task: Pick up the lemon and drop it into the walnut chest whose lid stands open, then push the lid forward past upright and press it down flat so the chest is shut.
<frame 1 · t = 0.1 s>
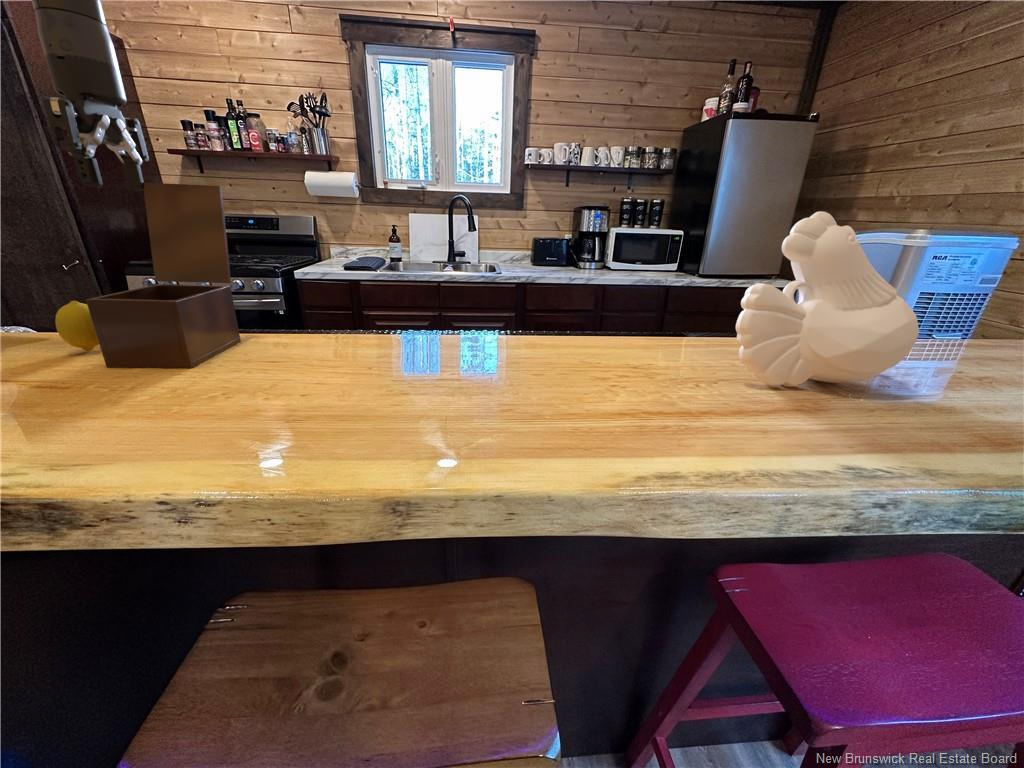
hand: (116, 188, 66), 24 cm above the worktop, tool pointing down, fingers open, 8 cm apart
chest: (180, 353, 70), on the worktop
lemon: (90, 352, 69), on the worktop
decorative rooster: (797, 380, 70), on the worktop
lid: (188, 234, 72), point 18 cm above the worktop, hinge at 100.1°
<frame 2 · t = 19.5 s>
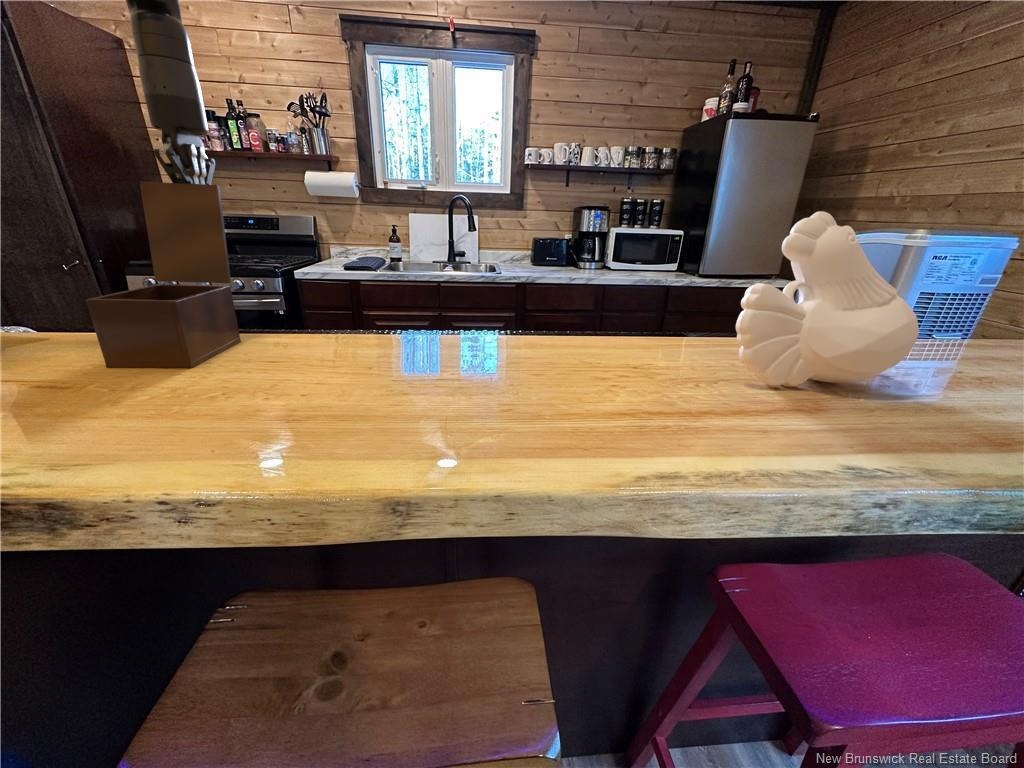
hand: (199, 215, 75), 21 cm above the worktop, tool pointing down, fingers closed
lemon: (174, 342, 69), point 2 cm above the worktop, touching chest
lid: (187, 234, 71), point 18 cm above the worktop, hinge at 97.5°, touching gripper
everything else where it was.
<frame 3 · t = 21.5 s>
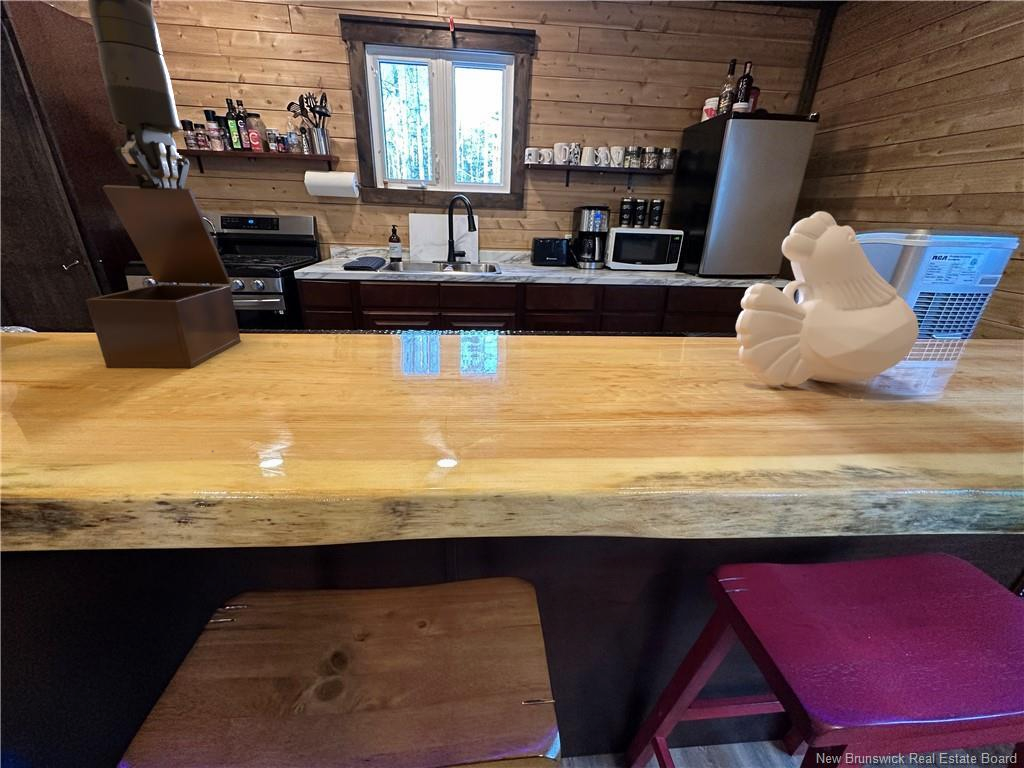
hand: (170, 220, 67), 20 cm above the worktop, tool pointing down, fingers closed
lid: (172, 238, 68), point 17 cm above the worktop, hinge at 67.3°, touching gripper
everything else where it was.
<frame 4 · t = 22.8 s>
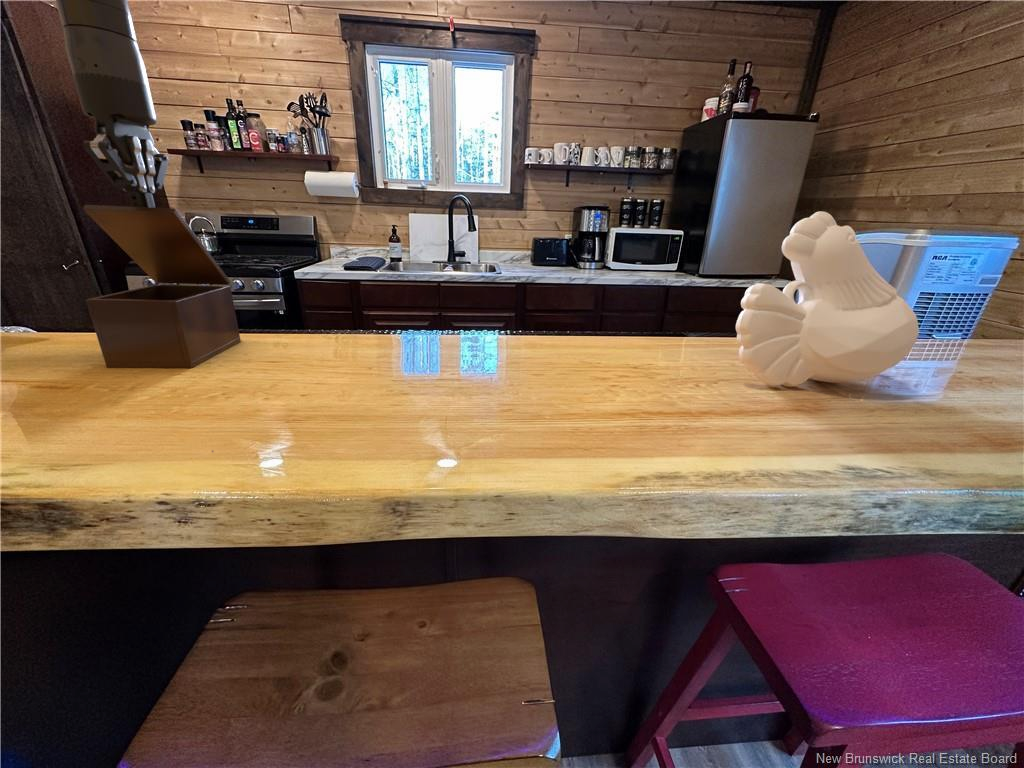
hand: (146, 221, 63), 20 cm above the worktop, tool pointing down, fingers closed
lid: (165, 249, 66), point 16 cm above the worktop, hinge at 47.4°, touching gripper
everything else where it was.
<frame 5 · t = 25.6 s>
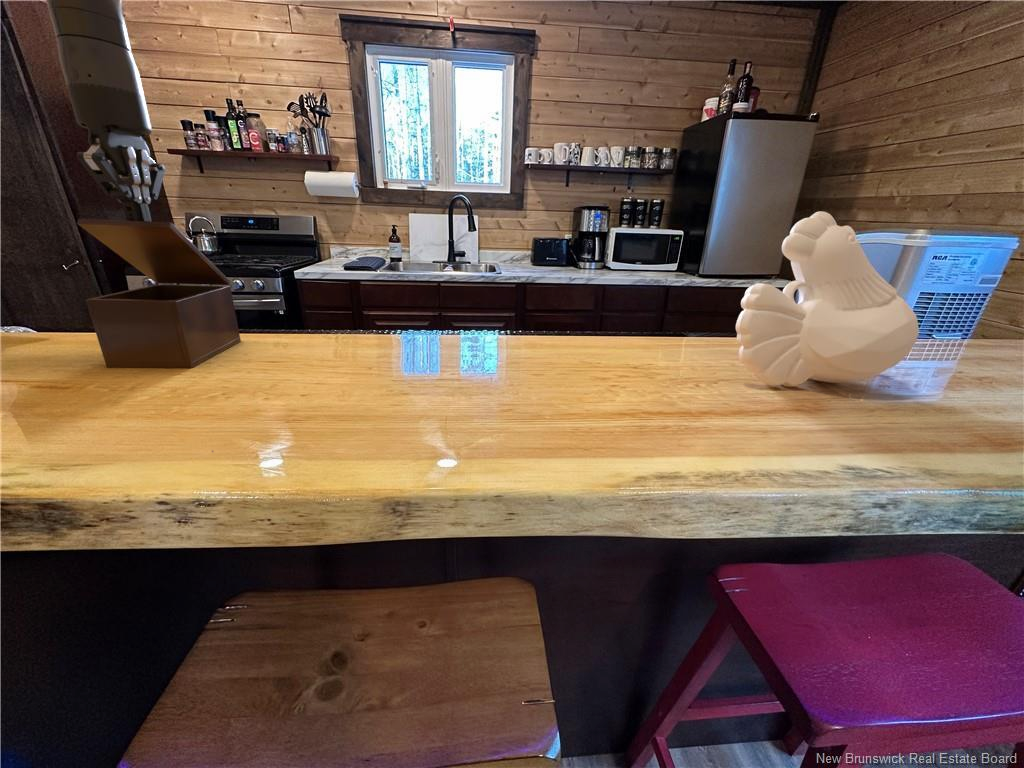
hand: (142, 231, 62), 19 cm above the worktop, tool pointing down, fingers closed
lid: (162, 255, 66), point 15 cm above the worktop, hinge at 38.2°
everything else where it was.
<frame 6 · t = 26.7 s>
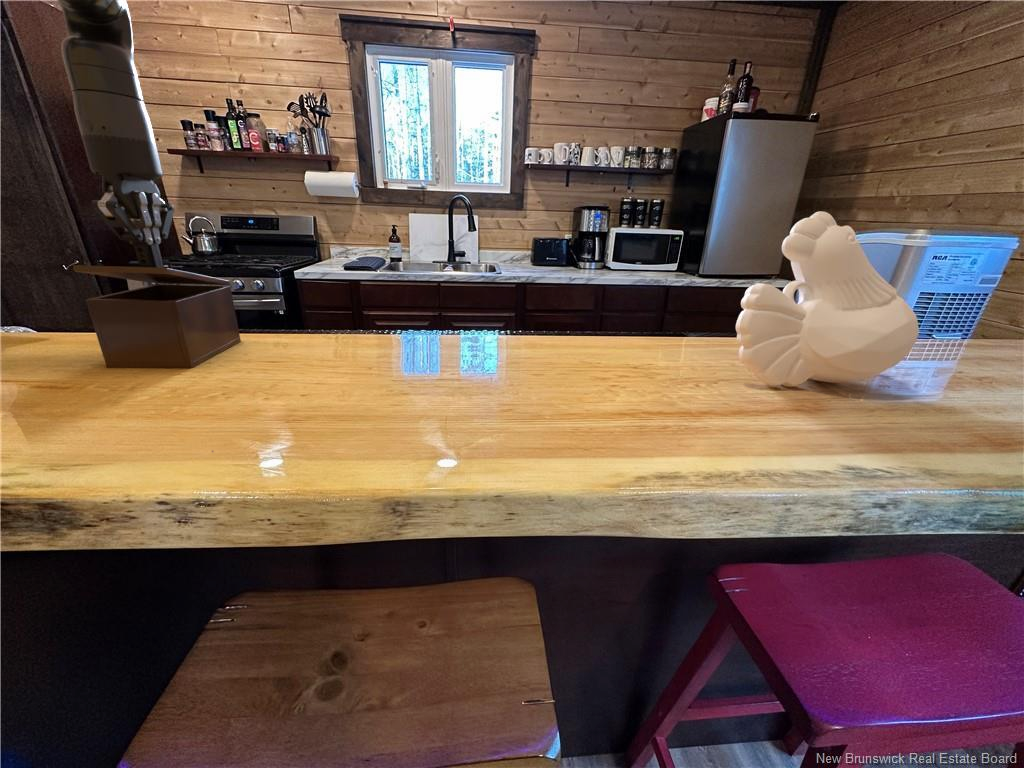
hand: (152, 271, 64), 13 cm above the worktop, tool pointing down, fingers closed
lid: (161, 276, 66), point 12 cm above the worktop, hinge at 13.9°
everything else where it was.
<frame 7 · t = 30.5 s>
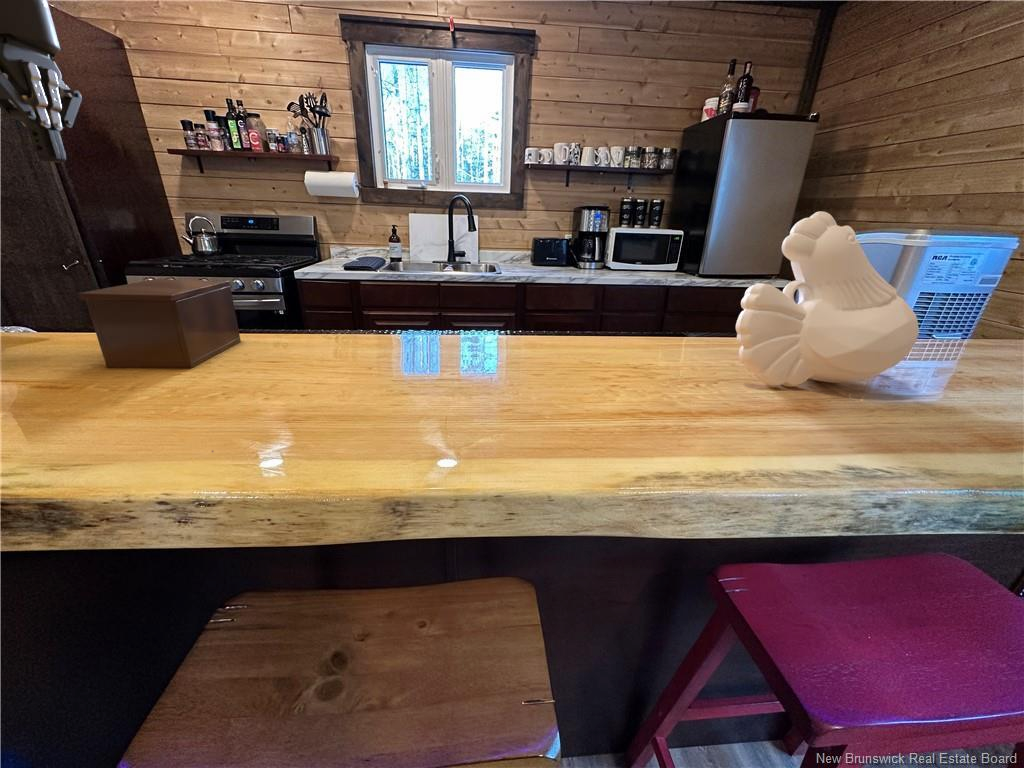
hand: (53, 161, 57), 27 cm above the worktop, tool pointing down, fingers closed
lid: (163, 288, 66), point 10 cm above the worktop, hinge at 0.4°
everything else where it was.
at the end: lemon inside the target area in the chest (0.4 cm from its centre), point 2.0 cm above the chest's base; lid at +0° (first picture: +100°) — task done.
